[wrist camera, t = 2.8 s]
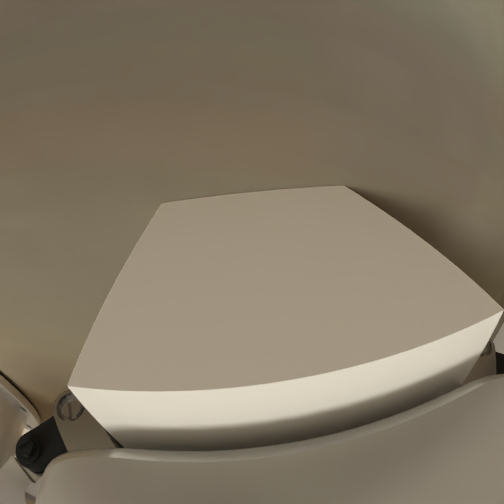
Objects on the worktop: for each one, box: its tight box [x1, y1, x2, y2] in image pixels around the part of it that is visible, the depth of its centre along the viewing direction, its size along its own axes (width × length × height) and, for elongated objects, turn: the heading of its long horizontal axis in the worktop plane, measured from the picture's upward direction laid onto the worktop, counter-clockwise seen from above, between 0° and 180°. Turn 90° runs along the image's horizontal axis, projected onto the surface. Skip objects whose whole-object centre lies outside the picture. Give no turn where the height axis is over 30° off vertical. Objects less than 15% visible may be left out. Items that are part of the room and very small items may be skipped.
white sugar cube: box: [67, 186, 504, 451], centre depth 9 cm, size 8×8×9 cm
